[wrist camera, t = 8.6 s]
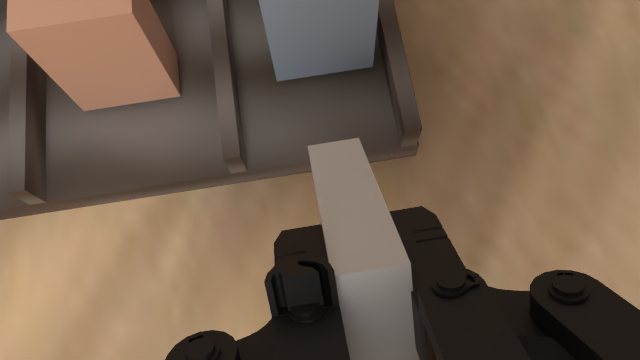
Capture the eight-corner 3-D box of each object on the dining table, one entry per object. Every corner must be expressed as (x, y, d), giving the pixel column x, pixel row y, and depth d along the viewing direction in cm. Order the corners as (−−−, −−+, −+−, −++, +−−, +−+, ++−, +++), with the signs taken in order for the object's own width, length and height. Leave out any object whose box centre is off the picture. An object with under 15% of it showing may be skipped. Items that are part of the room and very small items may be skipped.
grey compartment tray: (415, 155, 30) (424, 127, 27) (-122, 238, 30) (-181, 221, 26) (373, -33, 34) (376, -78, 31) (-102, 39, 34) (-151, 2, 30)
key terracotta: (180, 96, 30) (132, 12, 23) (83, 111, 30) (6, 31, 23) (177, 54, 31) (129, -39, 24) (82, 68, 30) (8, -21, 24)
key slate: (372, 66, 30) (381, -26, 23) (276, 81, 30) (257, -7, 23) (364, 25, 31) (370, -75, 24) (270, 39, 31) (250, -57, 24)
